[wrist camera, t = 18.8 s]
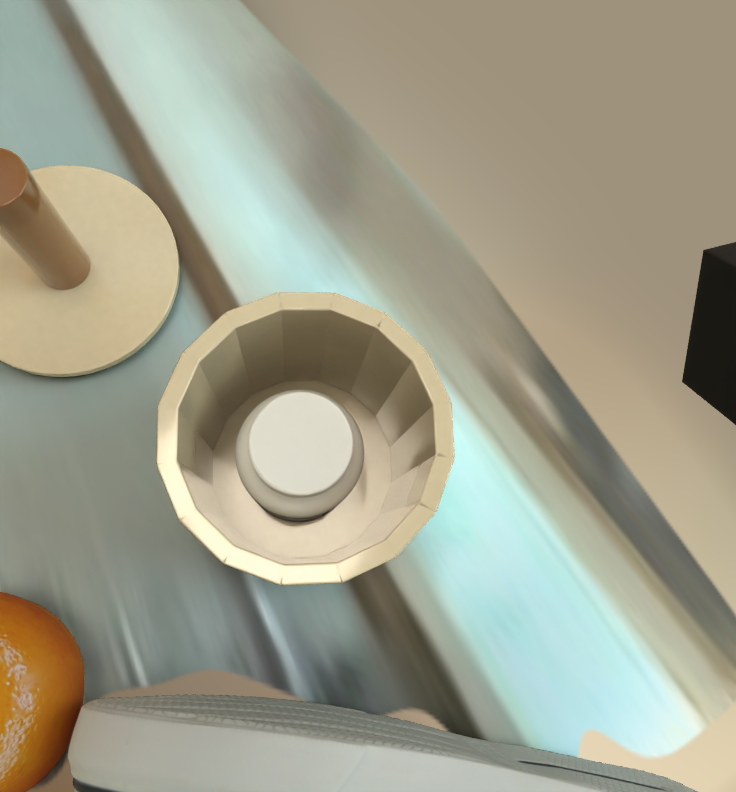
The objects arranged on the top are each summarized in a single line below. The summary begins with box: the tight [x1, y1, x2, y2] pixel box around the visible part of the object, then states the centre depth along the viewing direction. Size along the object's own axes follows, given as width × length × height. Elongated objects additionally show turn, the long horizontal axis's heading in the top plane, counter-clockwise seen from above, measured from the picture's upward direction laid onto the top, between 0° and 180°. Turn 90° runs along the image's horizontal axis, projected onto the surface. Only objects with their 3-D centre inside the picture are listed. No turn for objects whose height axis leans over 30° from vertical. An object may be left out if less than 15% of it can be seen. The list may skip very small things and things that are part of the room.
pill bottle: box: [235, 390, 364, 523], centre depth 31 cm, size 5×5×10 cm
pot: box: [156, 292, 455, 586], centre depth 31 cm, size 10×10×12 cm
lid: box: [0, 148, 180, 377], centre depth 32 cm, size 11×11×10 cm
